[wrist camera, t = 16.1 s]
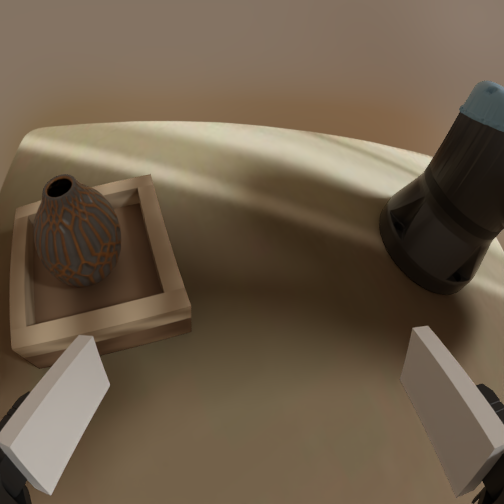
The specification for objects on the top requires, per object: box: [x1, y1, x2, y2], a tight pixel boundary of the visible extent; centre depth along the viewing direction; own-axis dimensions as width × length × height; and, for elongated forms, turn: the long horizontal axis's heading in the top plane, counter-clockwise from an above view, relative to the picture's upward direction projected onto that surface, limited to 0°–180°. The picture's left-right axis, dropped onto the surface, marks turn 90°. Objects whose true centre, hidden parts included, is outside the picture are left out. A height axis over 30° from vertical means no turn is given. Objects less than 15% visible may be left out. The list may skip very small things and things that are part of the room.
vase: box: [33, 174, 122, 287], centre depth 20 cm, size 7×7×9 cm
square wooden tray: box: [10, 174, 191, 369], centre depth 24 cm, size 14×14×5 cm
